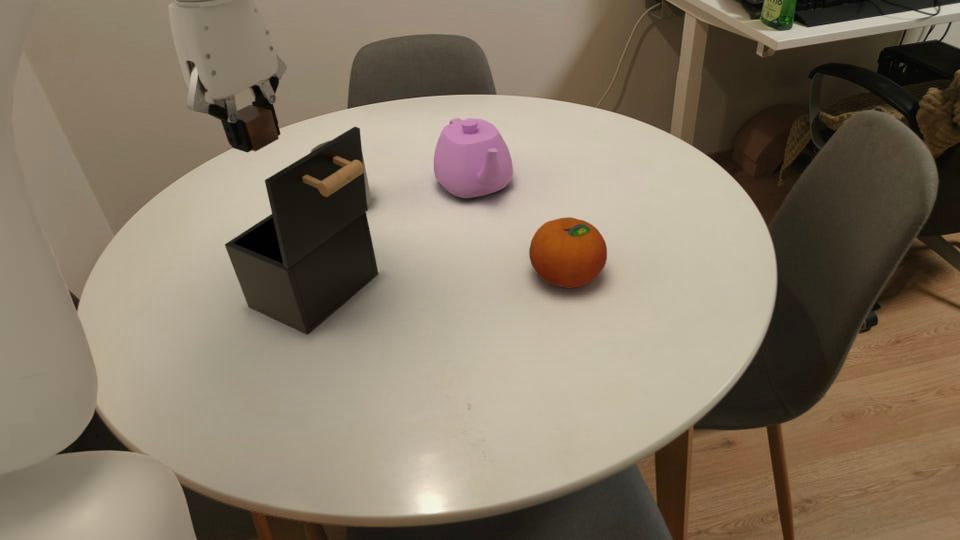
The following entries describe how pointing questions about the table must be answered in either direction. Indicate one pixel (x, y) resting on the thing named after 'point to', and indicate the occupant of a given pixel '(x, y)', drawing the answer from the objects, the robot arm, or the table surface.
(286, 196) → the box lid
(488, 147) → the teapot
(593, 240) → the fruit
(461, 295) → the table surface
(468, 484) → the table surface
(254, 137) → the block
